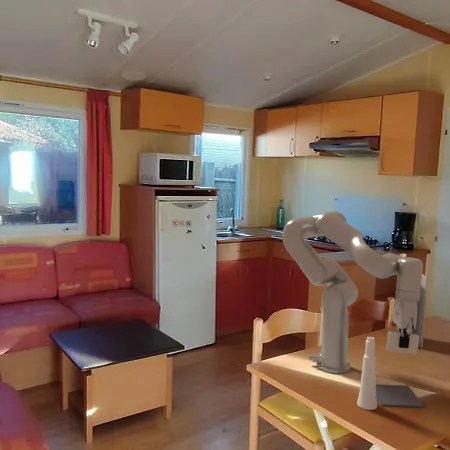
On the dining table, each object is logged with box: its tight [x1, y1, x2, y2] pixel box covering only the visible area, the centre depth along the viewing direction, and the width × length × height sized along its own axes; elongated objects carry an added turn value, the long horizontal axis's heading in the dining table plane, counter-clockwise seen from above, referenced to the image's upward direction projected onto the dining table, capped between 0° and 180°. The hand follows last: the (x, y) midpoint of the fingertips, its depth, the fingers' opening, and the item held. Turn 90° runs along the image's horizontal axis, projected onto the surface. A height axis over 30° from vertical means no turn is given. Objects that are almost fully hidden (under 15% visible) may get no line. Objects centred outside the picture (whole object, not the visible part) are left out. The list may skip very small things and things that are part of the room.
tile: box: [385, 330, 419, 355], centre depth 159 cm, size 10×2×6 cm, turn 88°
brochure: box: [412, 273, 428, 349], centre depth 201 cm, size 14×6×30 cm, turn 168°
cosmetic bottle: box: [356, 336, 378, 411], centre depth 144 cm, size 6×6×22 cm
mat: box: [376, 383, 425, 408], centre depth 152 cm, size 13×14×1 cm
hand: (402, 345), depth 159 cm, fingers closed on tile, 1 cm apart
